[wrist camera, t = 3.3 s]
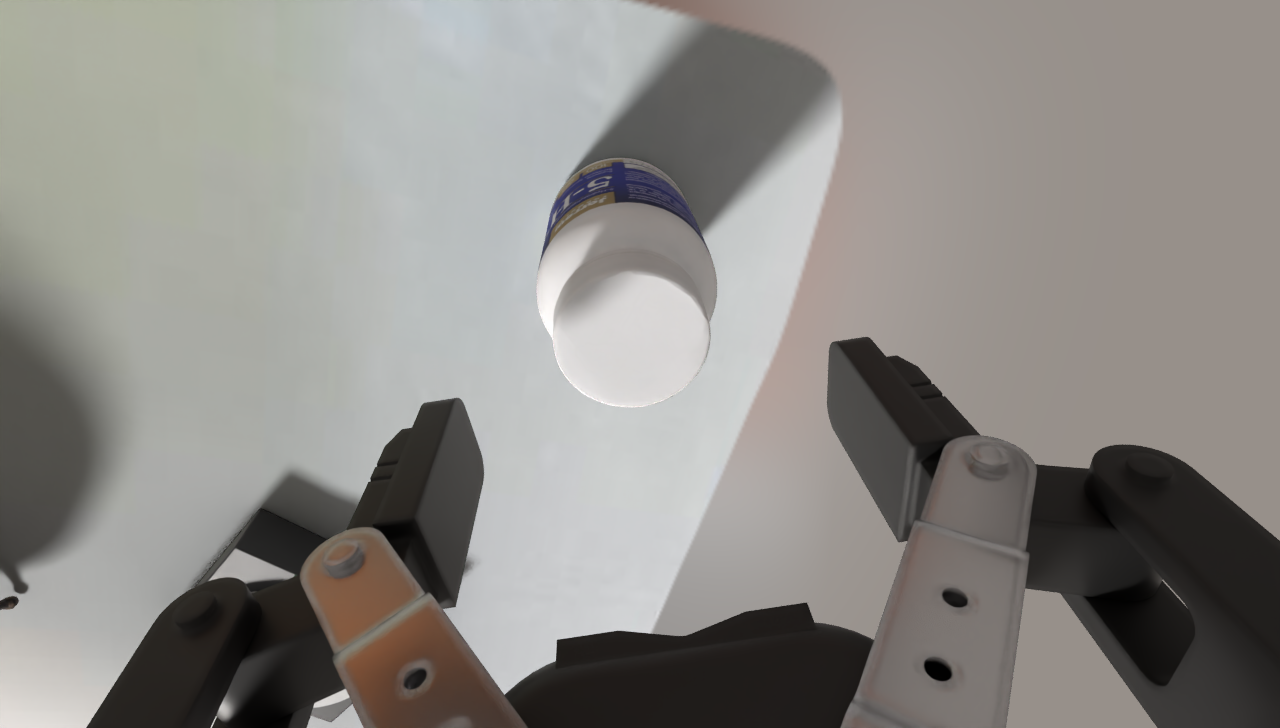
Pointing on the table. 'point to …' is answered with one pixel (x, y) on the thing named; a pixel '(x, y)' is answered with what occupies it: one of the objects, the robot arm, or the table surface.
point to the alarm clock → (9, 602)
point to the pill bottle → (626, 284)
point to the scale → (273, 572)
